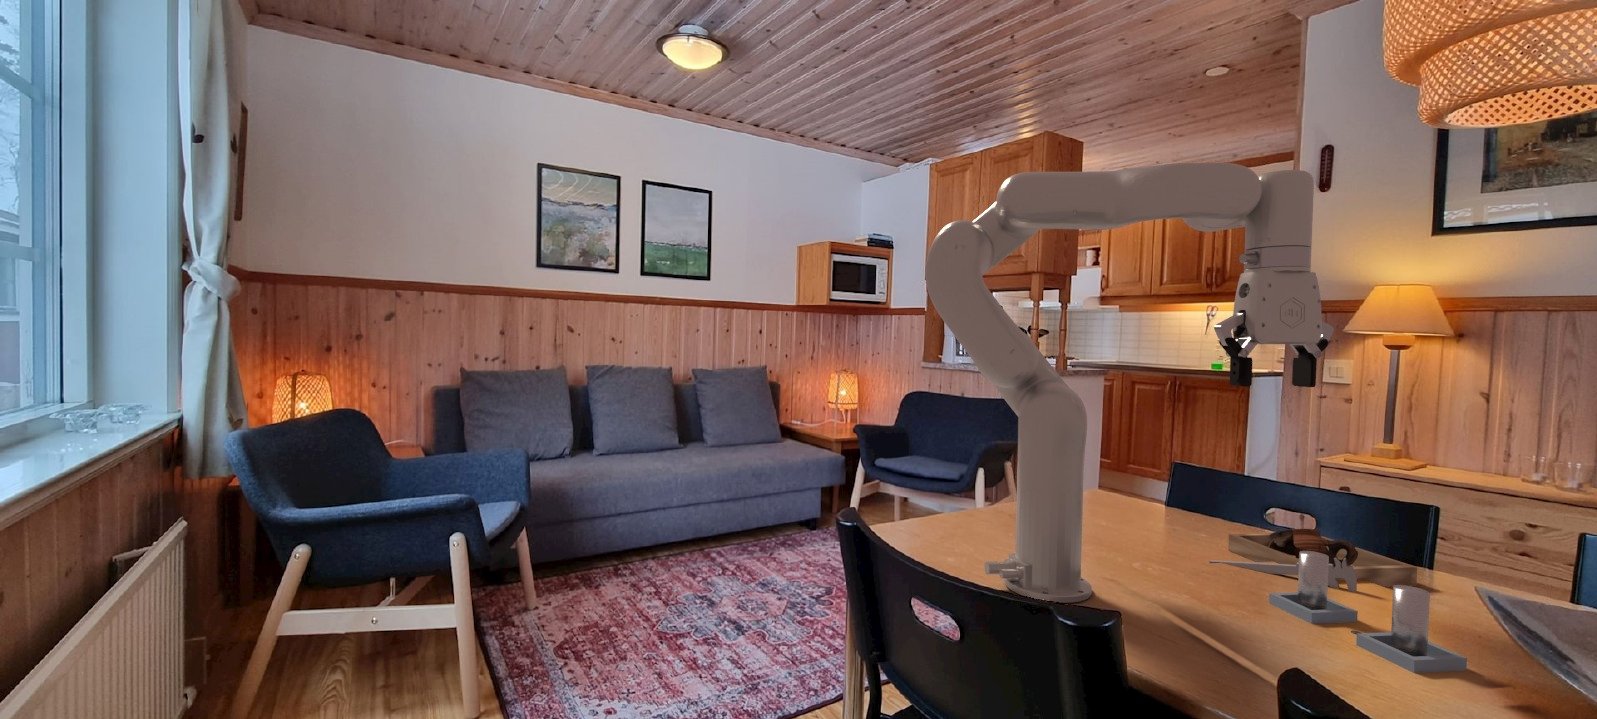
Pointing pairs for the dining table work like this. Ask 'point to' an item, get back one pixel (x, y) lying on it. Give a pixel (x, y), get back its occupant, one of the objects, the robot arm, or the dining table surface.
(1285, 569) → the caliper
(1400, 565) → the brown elongated piece
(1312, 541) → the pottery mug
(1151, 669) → the dining table surface
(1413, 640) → the steel pin
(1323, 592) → the seated pin
